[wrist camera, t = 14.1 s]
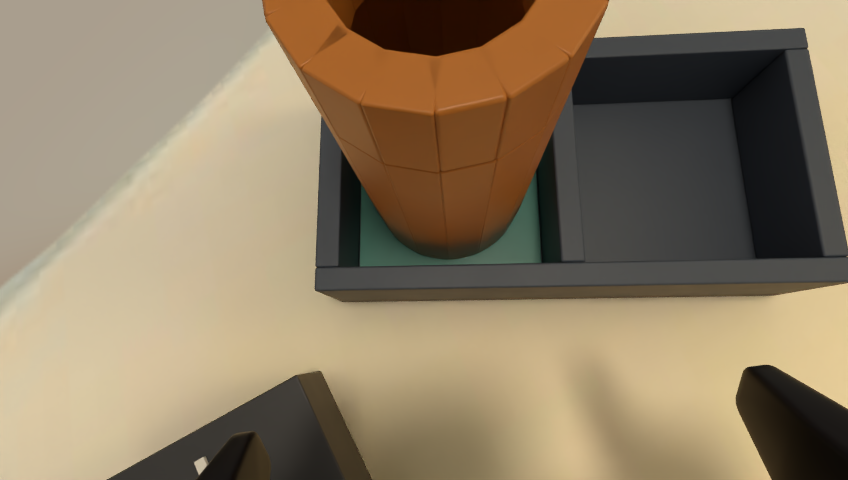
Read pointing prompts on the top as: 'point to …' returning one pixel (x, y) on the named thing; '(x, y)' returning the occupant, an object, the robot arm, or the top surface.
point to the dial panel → (269, 438)
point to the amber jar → (439, 102)
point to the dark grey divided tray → (634, 187)
